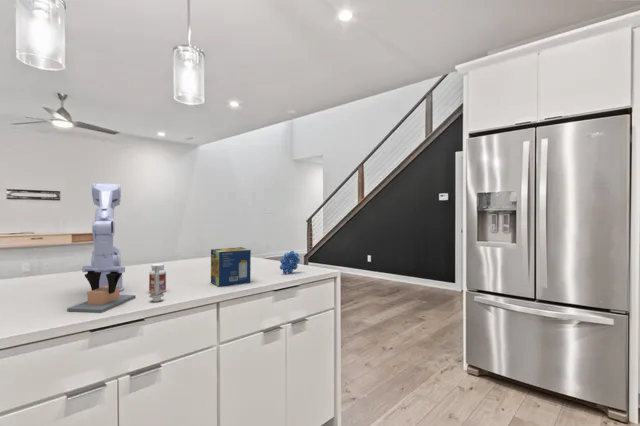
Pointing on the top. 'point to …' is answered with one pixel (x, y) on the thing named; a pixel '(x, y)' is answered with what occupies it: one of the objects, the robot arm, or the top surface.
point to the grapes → (289, 262)
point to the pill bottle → (161, 279)
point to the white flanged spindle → (156, 287)
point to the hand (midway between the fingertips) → (103, 292)
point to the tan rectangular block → (102, 296)
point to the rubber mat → (100, 308)
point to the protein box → (230, 266)
